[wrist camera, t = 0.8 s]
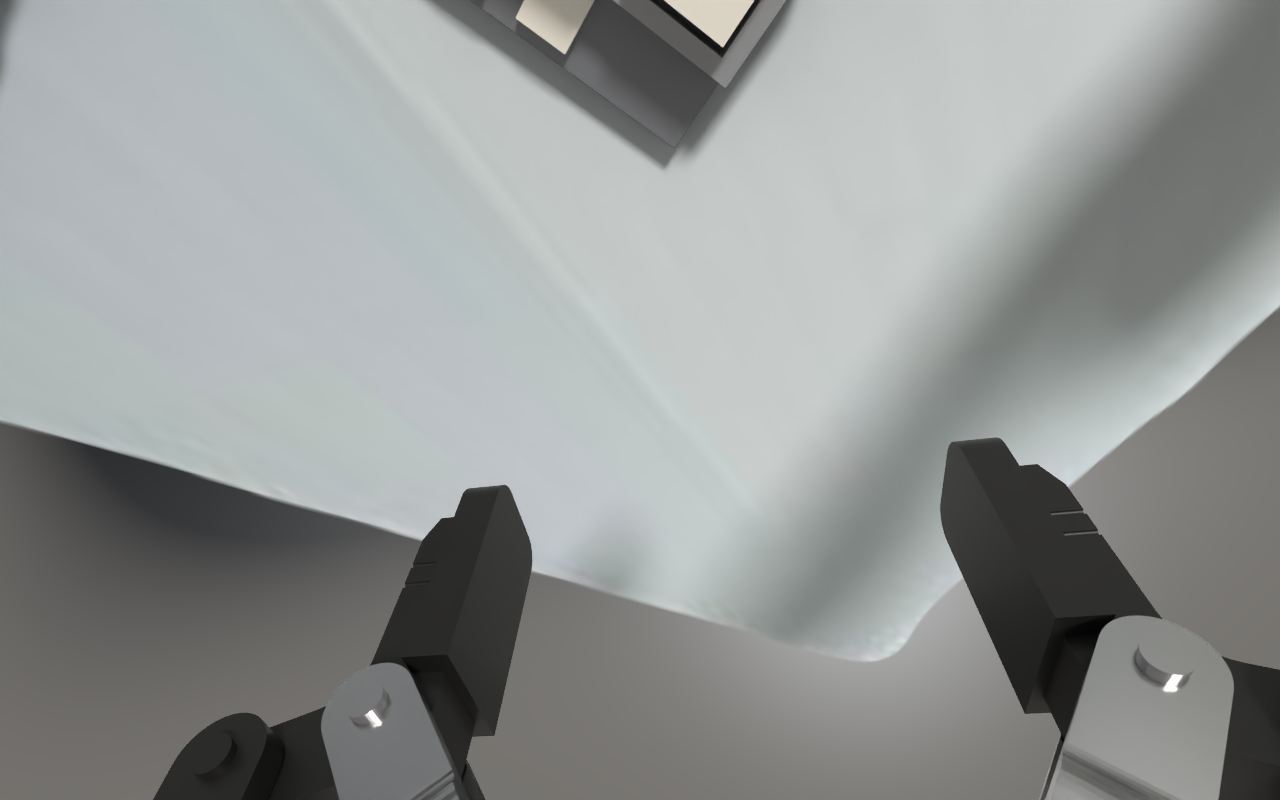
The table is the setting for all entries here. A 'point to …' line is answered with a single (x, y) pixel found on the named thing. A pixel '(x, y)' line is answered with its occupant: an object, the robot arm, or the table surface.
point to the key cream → (713, 15)
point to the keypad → (637, 52)
